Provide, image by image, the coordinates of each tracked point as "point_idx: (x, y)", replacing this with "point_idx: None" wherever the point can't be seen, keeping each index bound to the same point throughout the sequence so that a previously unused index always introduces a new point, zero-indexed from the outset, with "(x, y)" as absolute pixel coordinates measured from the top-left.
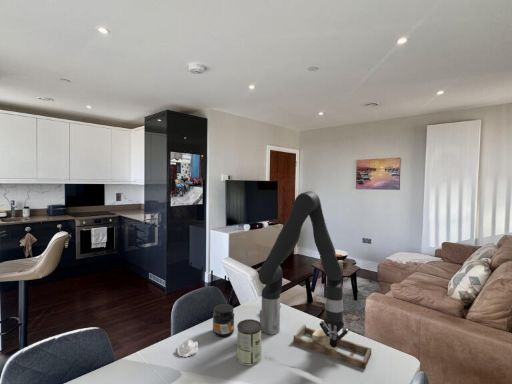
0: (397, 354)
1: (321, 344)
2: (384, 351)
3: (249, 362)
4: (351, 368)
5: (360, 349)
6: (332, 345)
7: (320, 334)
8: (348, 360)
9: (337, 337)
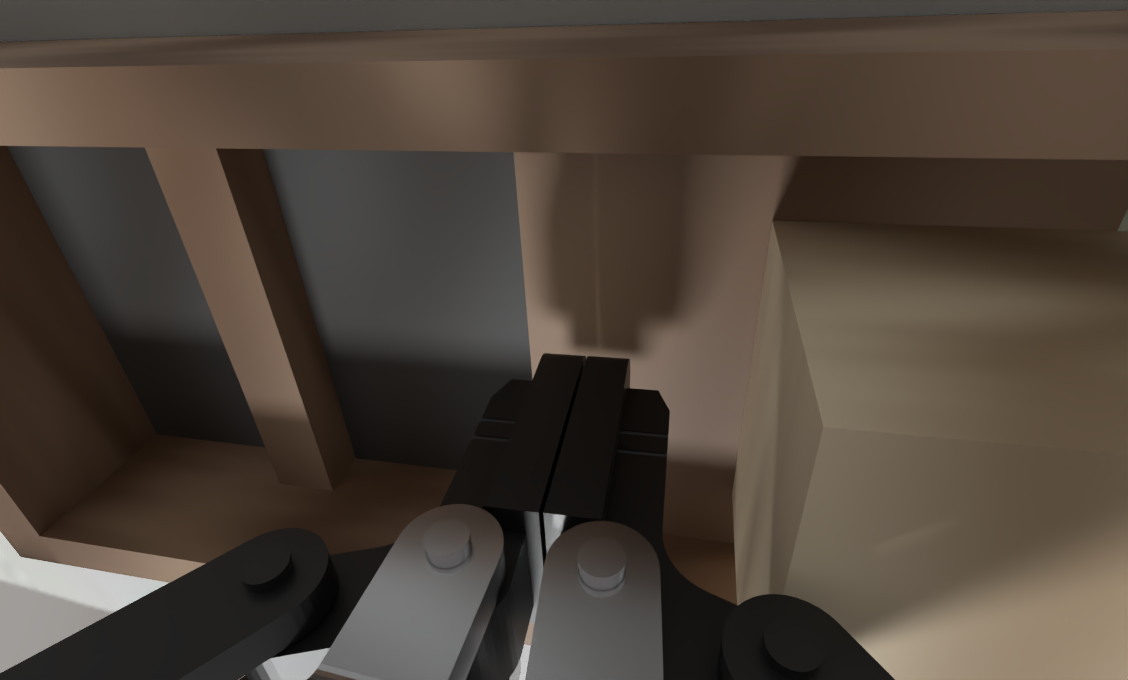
0: (51, 588)
1: (927, 280)
2: (145, 592)
3: None
4: (121, 14)
5: (186, 507)
6: (589, 380)
7: (1108, 629)
8: (76, 56)
9: (347, 614)
